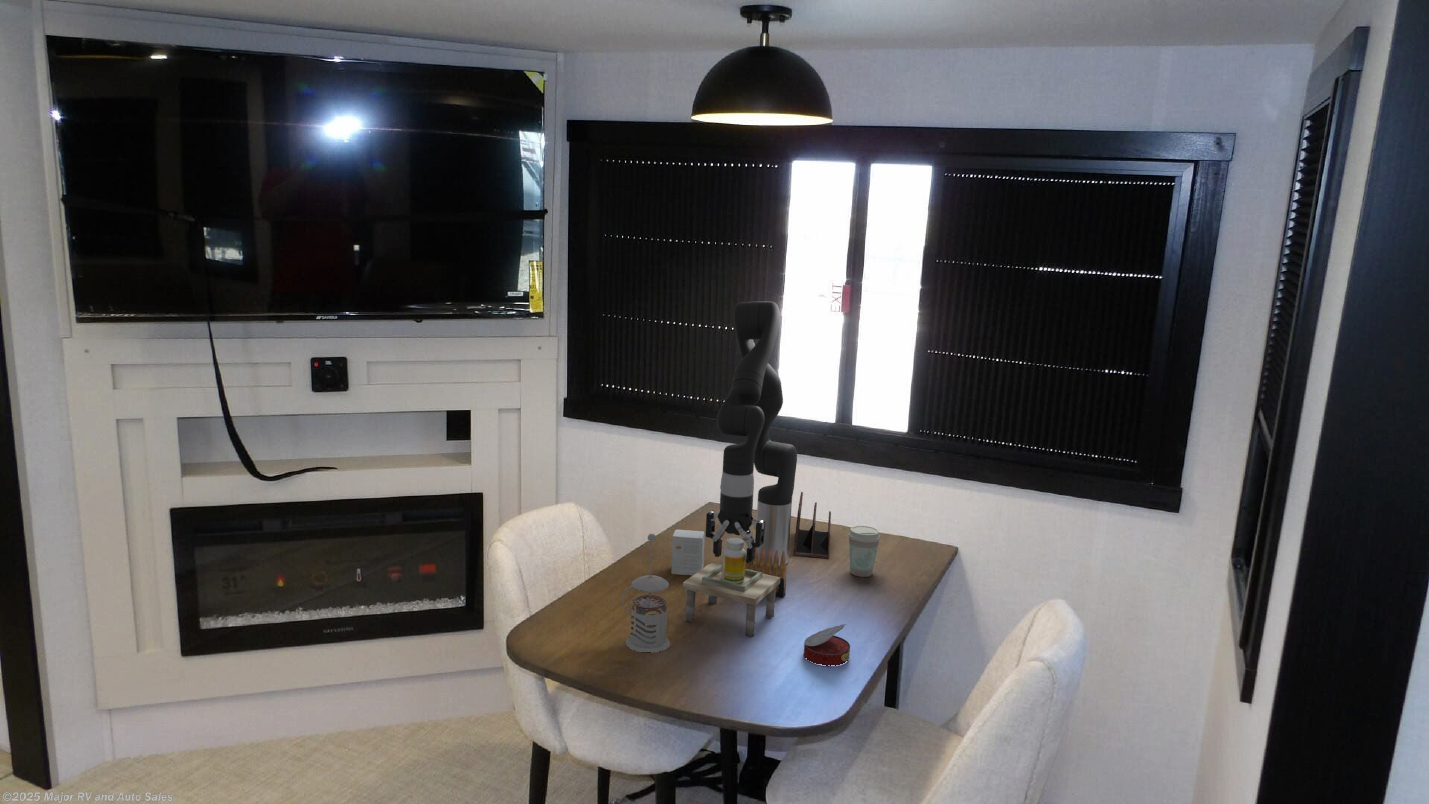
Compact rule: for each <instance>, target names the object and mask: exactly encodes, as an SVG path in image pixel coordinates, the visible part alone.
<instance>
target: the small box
mask: <svg viewBox="0 0 1429 804" xmlns="http://www.w3.org/2000/svg"><path fill="white" fill-rule="evenodd" d="M705 536H706V531H701V530H689V529H675V530H674V532H673V534H672V537H671V538H672V540H671V541H672V542H671V575H679V576H680V575H681V576H682V575H683V576H693V575H694V574H696V573H697V572H699V571H700V570H702V569H703V568H704V567H705V565H704V561H705Z"/></svg>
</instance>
